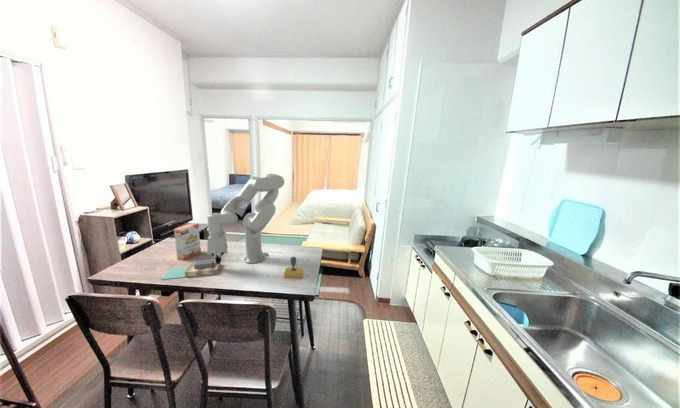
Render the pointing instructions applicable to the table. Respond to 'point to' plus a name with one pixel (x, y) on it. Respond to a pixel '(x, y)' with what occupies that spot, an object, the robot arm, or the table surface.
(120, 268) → the table surface
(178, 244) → the cracker box
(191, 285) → the table surface
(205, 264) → the blue-grey flat block
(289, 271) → the rubber stamp
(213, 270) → the deck
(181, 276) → the mat
